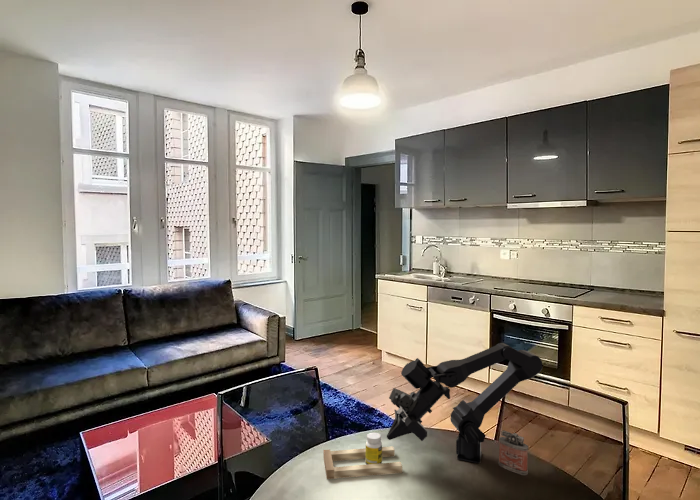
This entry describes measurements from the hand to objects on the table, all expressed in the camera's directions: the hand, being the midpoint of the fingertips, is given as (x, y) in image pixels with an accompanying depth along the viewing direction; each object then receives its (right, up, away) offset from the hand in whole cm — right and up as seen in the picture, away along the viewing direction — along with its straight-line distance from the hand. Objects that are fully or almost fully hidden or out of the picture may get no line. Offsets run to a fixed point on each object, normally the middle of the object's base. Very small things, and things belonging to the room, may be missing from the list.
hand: (387, 438), depth 119 cm
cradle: (-7, -7, -1) cm, 10 cm away
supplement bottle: (-4, -7, 0) cm, 9 cm away
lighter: (+35, -8, -2) cm, 36 cm away
